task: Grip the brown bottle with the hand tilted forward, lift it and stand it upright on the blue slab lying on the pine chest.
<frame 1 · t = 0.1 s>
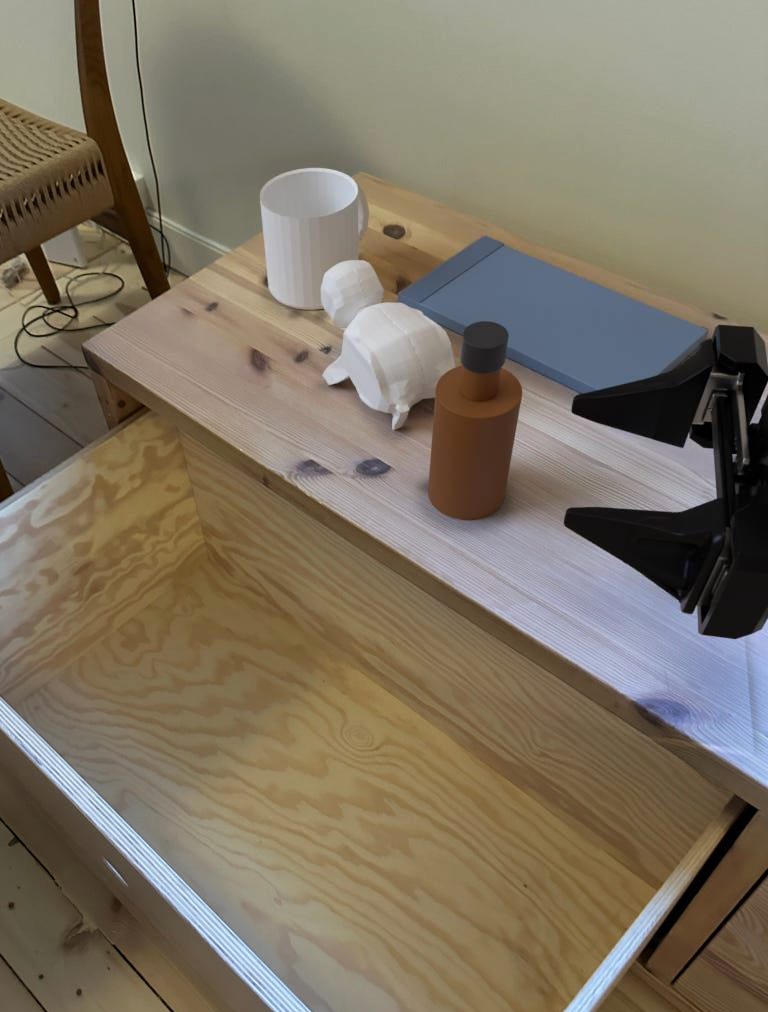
hand: (568, 457, 50), 16 cm above the table, tool horizontal, fingers open, 9 cm apart
blue slab: (545, 322, 83), on the table
brown bottle: (466, 492, 71), on the table
white turtle figurine: (380, 381, 80), on the table
mug: (325, 281, 90), on the table
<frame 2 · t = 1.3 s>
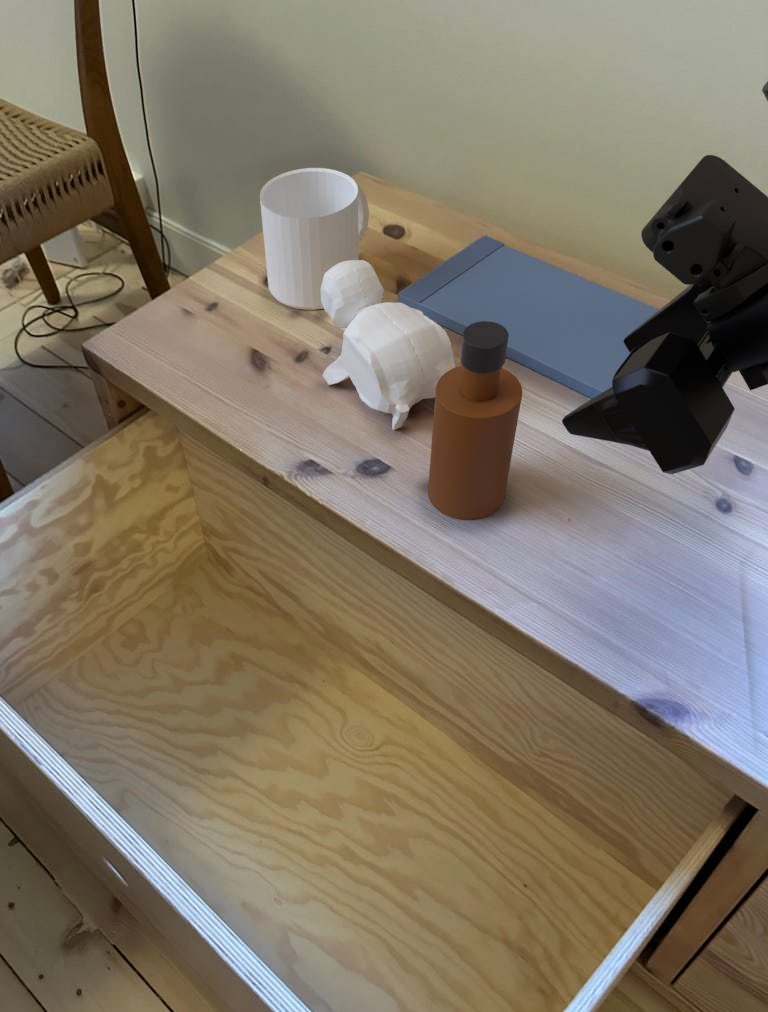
hand: (597, 384, 57), 14 cm above the table, tool tilted 45°, fingers open, 9 cm apart
nothing on the table moved.
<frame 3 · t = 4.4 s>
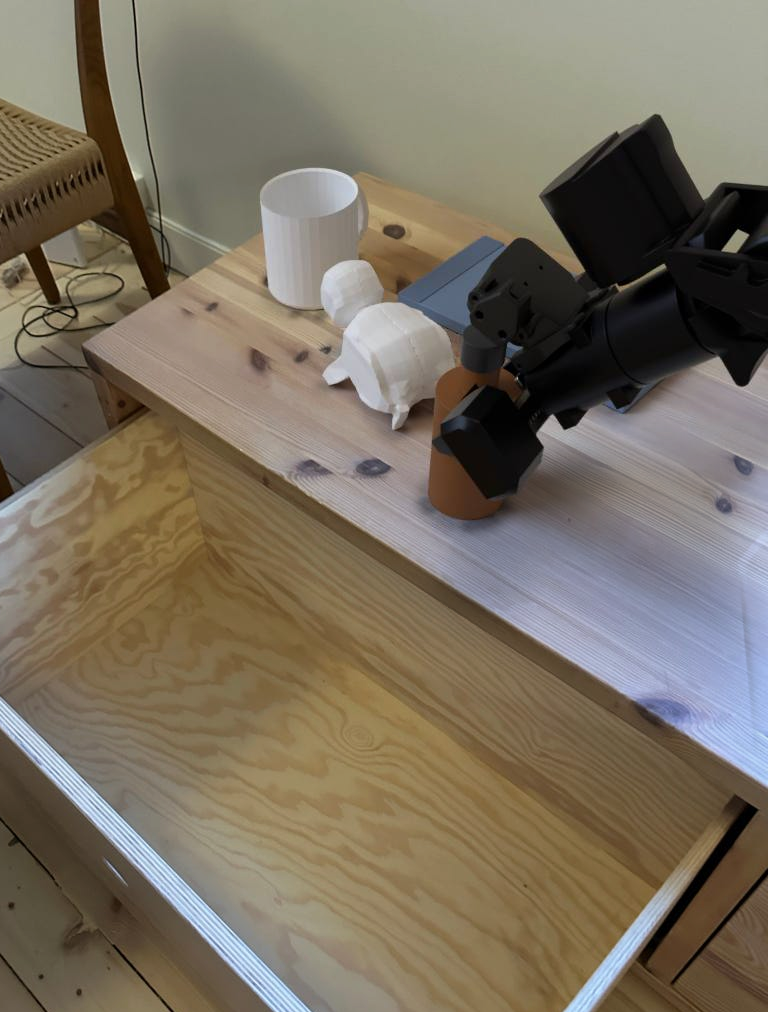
hand: (457, 420, 66), 7 cm above the table, tool tilted 45°, fingers closed on brown bottle, 6 cm apart
brown bottle: (466, 492, 71), on the table, touching gripper
everything else where it was.
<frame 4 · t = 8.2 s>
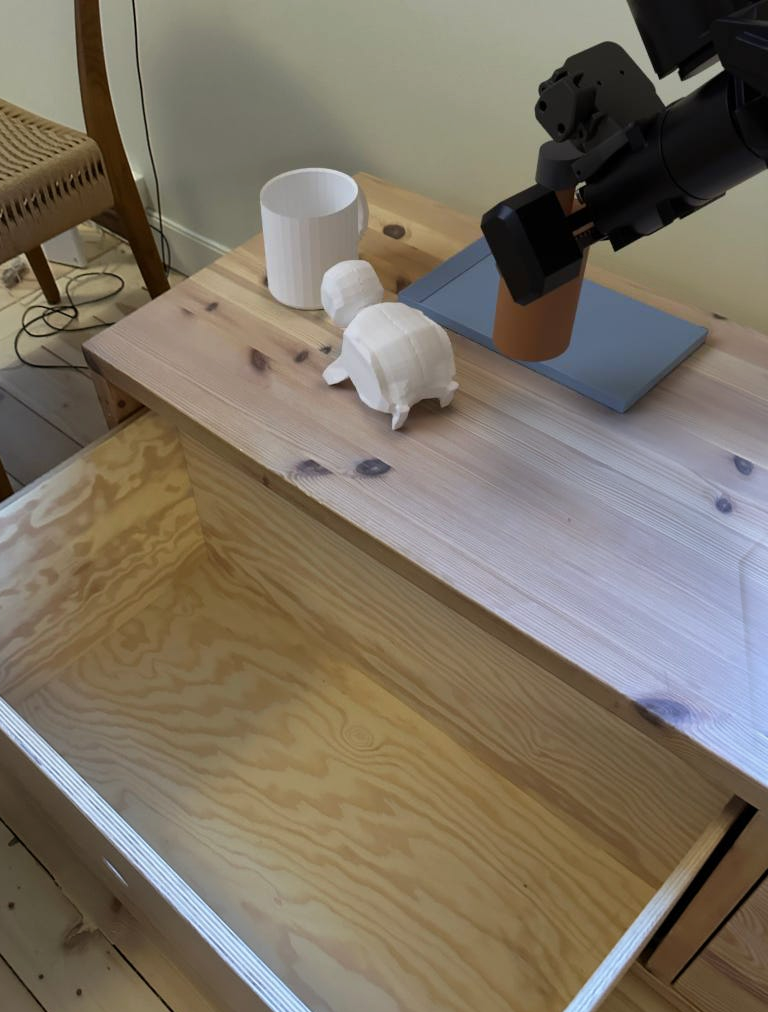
hand: (530, 253, 66), 14 cm above the table, tool tilted 45°, fingers closed on brown bottle, 6 cm apart
brown bottle: (530, 338, 71), point 7 cm above the table, touching gripper
everything else where it was.
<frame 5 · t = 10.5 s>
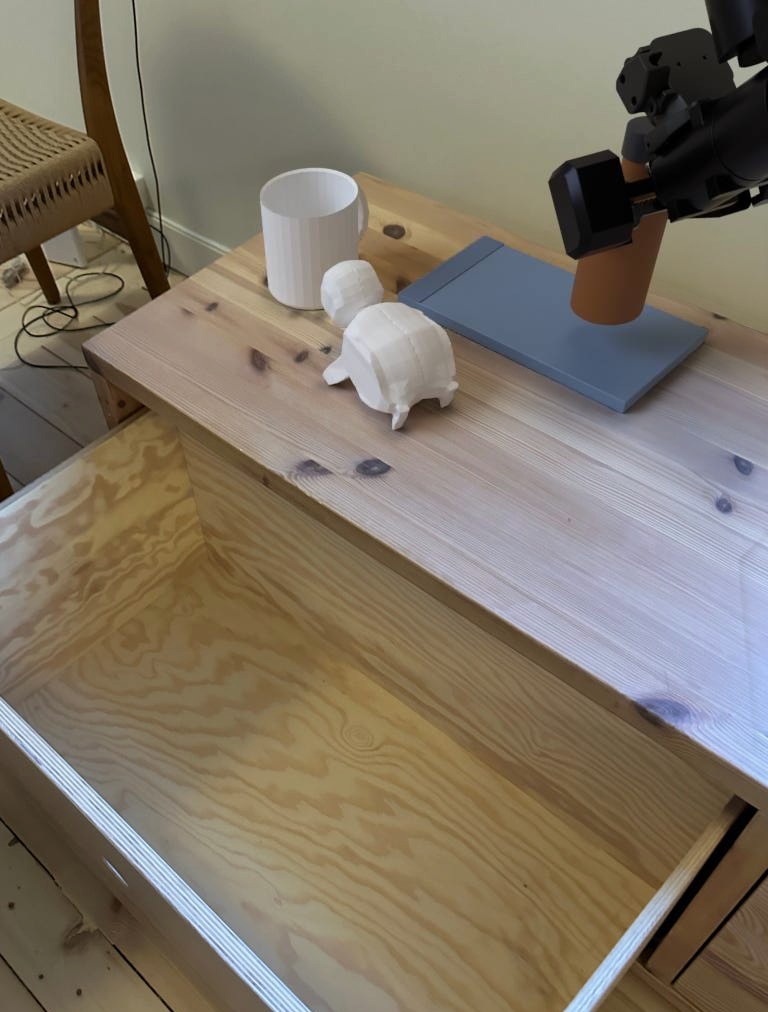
hand: (614, 222, 72), 11 cm above the table, tool tilted 45°, fingers closed on brown bottle, 6 cm apart
brown bottle: (606, 304, 76), point 5 cm above the table, touching gripper
everything else where it was.
when the fingers open (8 cm above the table, at t = 12.1 s): brown bottle stays where it is, resting on blue slab.
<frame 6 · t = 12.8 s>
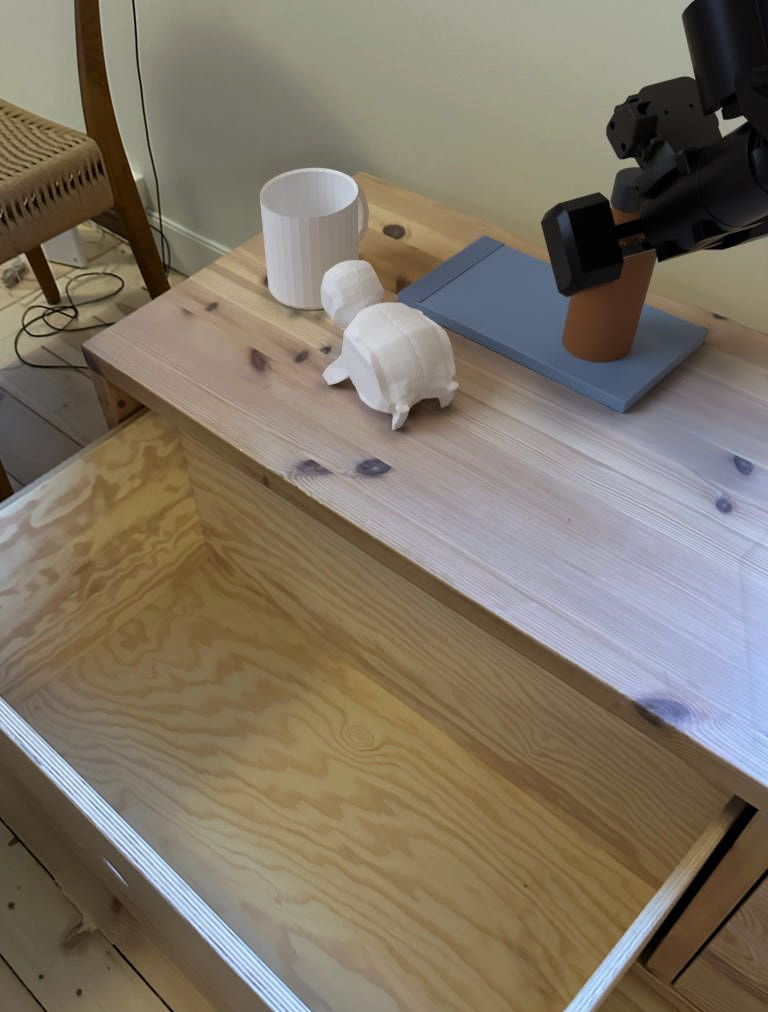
hand: (605, 256, 74), 9 cm above the table, tool tilted 45°, fingers open, 9 cm apart
brown bottle: (596, 341, 79), point 1 cm above the table, touching blue slab
everything else where it was.
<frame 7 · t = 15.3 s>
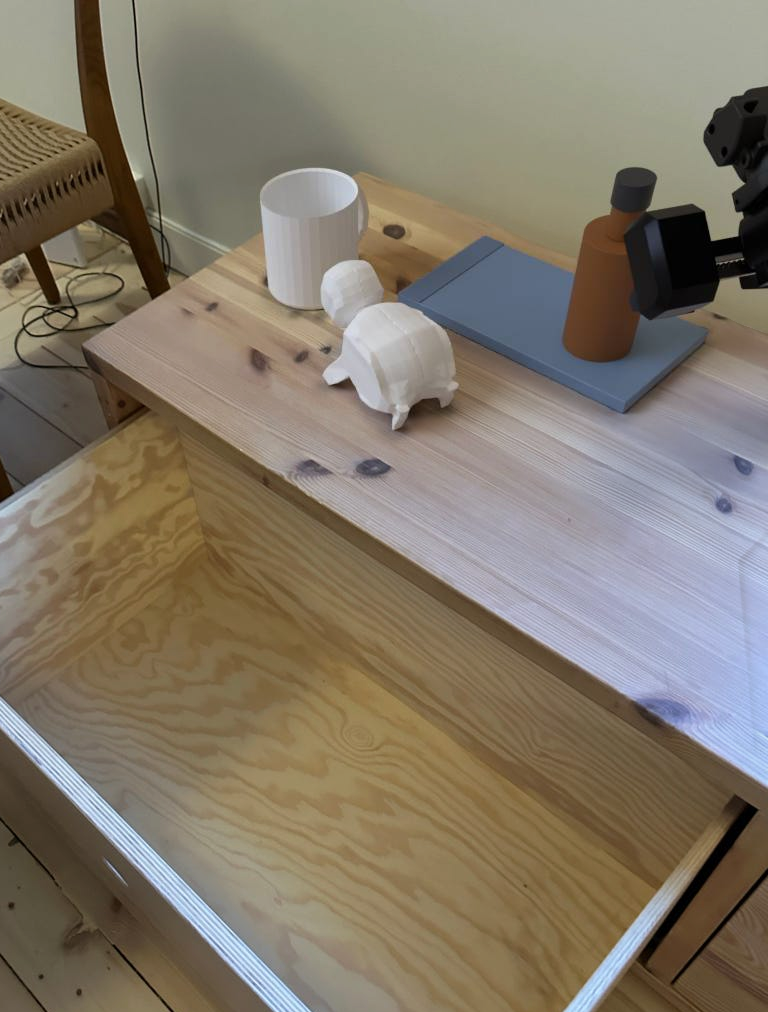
hand: (687, 293, 66), 11 cm above the table, tool tilted 40°, fingers open, 9 cm apart
nothing on the table moved.
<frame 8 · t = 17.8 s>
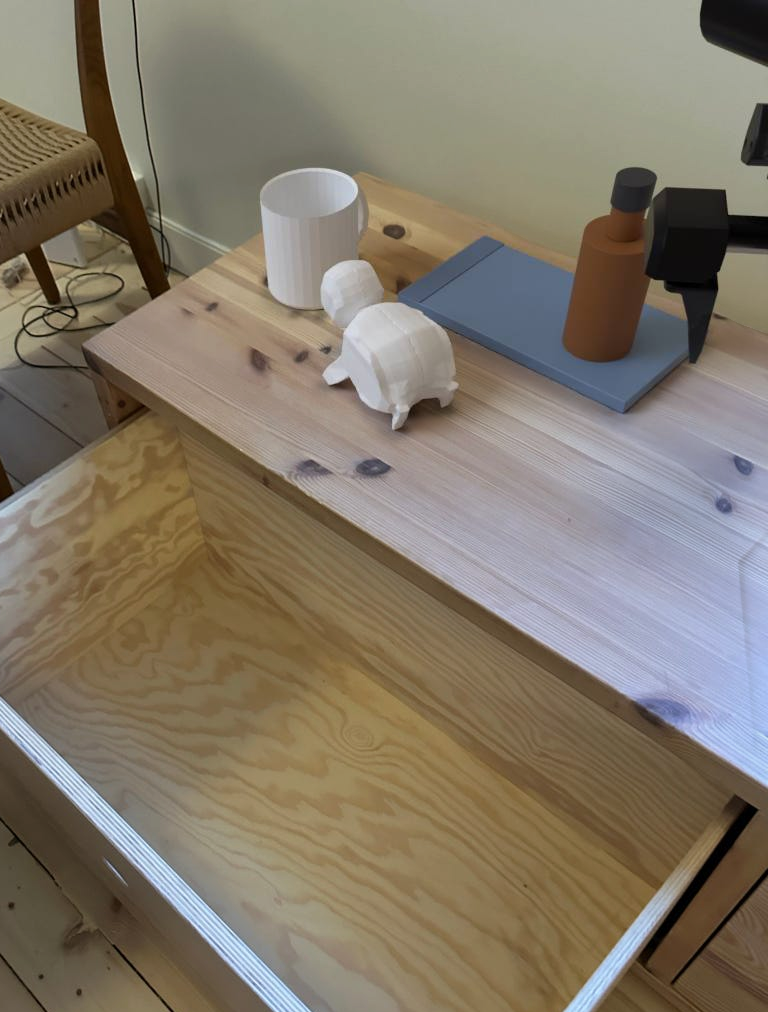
hand: (766, 365, 58), 13 cm above the table, tool pointing down, fingers open, 9 cm apart
nothing on the table moved.
at the end: brown bottle 0.2 cm from the target spot on the blue slab, point 1.2 cm above the blue slab's base; brown bottle tilted 0°; mug moved 0.2 cm from its start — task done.
